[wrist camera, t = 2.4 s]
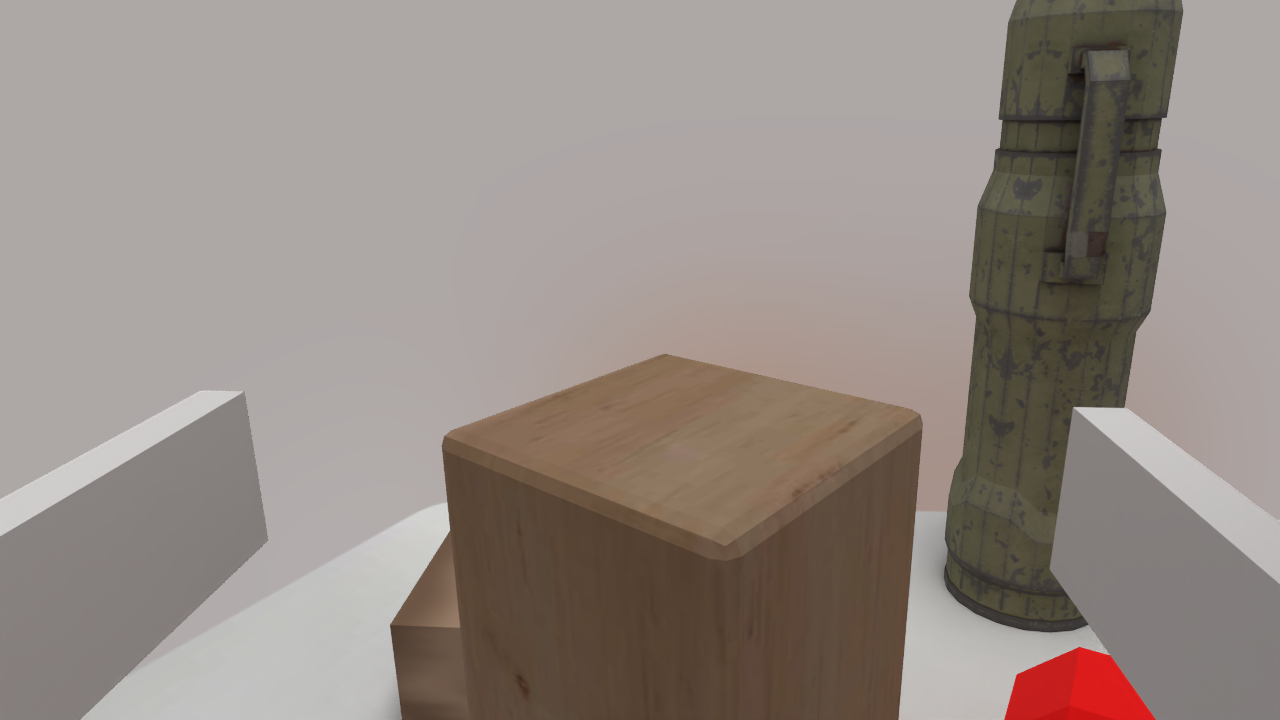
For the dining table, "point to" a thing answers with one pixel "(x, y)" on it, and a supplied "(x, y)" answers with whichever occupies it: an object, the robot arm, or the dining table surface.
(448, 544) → the walnut pedestal block
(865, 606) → the wooden block
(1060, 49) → the thermos
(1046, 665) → the ball
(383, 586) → the dining table surface
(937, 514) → the dining table surface
